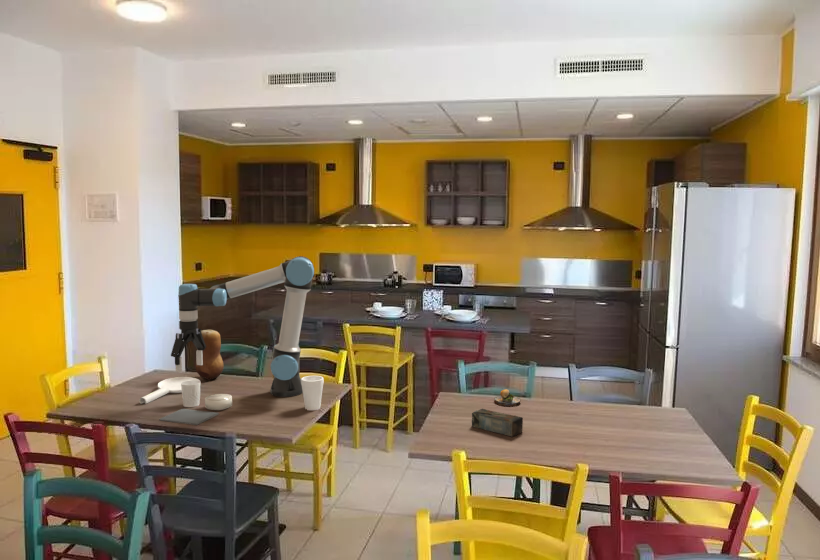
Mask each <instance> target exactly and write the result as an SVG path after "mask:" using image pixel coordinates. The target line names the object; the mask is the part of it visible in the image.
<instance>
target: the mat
mask: <svg viewBox="0 0 820 560" xmlns="http://www.w3.org/2000/svg"><path fill="white" fill-rule="evenodd" d="M219 414H220V412H217V411H216V412H215V411H214V412H213V411H205V410H198V409H197V410H196V409H188V408H181V409H178V410H176V411H174V412H172V413H170V414H167V415H165V416H163V417H160V418H159V421H160V422H170V423H175V424H176V423H177V424H186V425H193V426H198V425H200V424H202V423H204V422H207V421H208V420H210V419H213V418H215V417H216V416H218V415H219Z"/></svg>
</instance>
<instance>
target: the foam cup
mask: <svg viewBox="0 0 820 560" xmlns="http://www.w3.org/2000/svg"><path fill="white" fill-rule="evenodd" d="M300 378H301V385H302V390H303V393H302V396H303V402H304V409H305V410H306V409H307V411H317V410H320V409H321V404H322V397H323V389H324V388H323V387H324V382H325V381H324V380H325V379H324V377H323V376H321V375H308V376H306V375H305V376H303V377H300Z"/></svg>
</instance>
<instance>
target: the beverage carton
mask: <svg viewBox="0 0 820 560" xmlns="http://www.w3.org/2000/svg"><path fill="white" fill-rule="evenodd" d="M523 418H524V417H523V416H518V415H512V414H509V413H508V414H507V413H505V412H503V413H502V412H499V411H494V410H489V409H485V408H480V409H476V410H475V411H473V412H472V413H471V427H473V428H476V429H480V430H483V431H487V432H491V433H497V434H500V435H504V436H509V437H515V436H517V435H519V434H521V433H523V427H524V425H523V424H524V421H523V420H524V419H523Z"/></svg>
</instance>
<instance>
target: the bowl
mask: <svg viewBox="0 0 820 560" xmlns="http://www.w3.org/2000/svg"><path fill="white" fill-rule="evenodd" d="M204 406H205V408H206V409H207V410H210V411H223V410H226V409H228V408H231V407H232V406H233V396H232V395H231V394H230V393H229V394H228V393H215V394H211V395H210V394H209V395H208V396H206V397H204Z"/></svg>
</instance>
